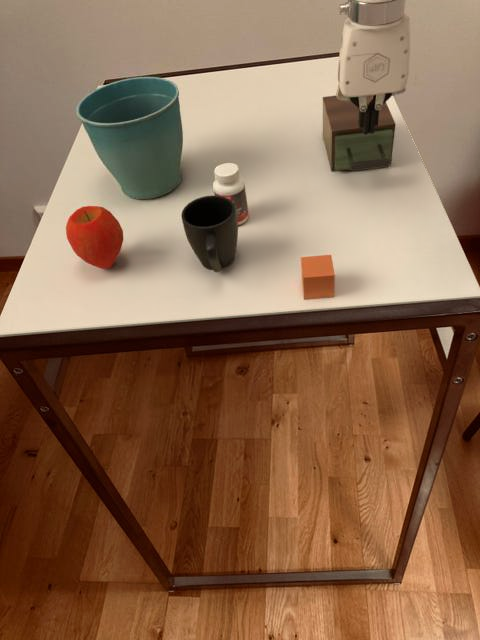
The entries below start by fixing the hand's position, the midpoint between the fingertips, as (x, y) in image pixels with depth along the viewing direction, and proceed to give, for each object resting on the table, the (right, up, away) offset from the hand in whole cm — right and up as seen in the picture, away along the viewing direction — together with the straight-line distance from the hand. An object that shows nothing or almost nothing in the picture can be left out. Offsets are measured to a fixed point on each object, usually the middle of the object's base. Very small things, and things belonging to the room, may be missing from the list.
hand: (367, 129), depth 85 cm
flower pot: (-39, -5, +15) cm, 42 cm away
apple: (-44, -23, 0) cm, 49 cm away
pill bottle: (-23, -14, +4) cm, 27 cm away
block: (-10, -27, -10) cm, 30 cm away
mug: (-25, -24, -4) cm, 35 cm away
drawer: (+1, -1, +10) cm, 11 cm away
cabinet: (+1, +2, +14) cm, 15 cm away
